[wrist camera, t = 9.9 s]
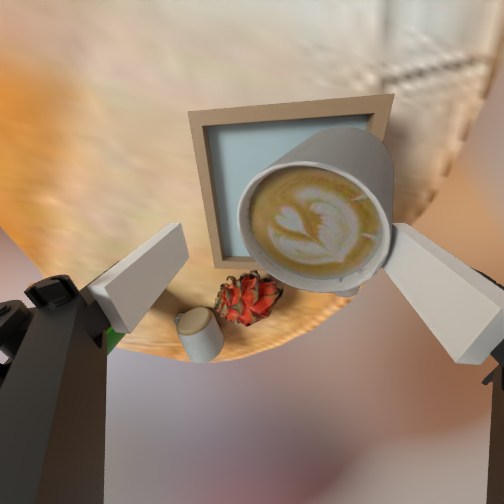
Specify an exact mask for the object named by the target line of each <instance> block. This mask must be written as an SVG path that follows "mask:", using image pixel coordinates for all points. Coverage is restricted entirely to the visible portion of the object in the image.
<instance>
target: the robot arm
mask: <svg viewBox="0 0 504 504" xmlns="http://www.w3.org/2000/svg"><path fill="white" fill-rule="evenodd" d="M188 259H189V253H188V249H187V245H186V241H185V238H184V234H183V230H182V226H181V223H169V224H168V225H167V226H166V227H164V228H163V229H162V230H160V231H159V232H158V233H156V234H155V235H154V236H152V237H151V238H150V239H148V240H147V241H146V242H145V243H143V244H142V245H141V246H139V247H138V248H137V249H135V250H134V251H133V252H131V253H130V254H129V255H127V256H126V257H125V258H124V259H122V260H121V261H119V262H117V263H116V264H114V265H113V266H112V267H110V268H109V269H108V270H106V271H105V272H104V273H103V274H101V275H100V276H98V277H97V278H96V279H94V280H93V281H92V282H90V283H89V284H88V285H87V286H85V287H84V288H83V289H81V290H80V291H79V290H78V289H77V287H76V286H75V284H74V283H73V281H72V280H71V278H70V277H69V276H68V275H57V276H52V277H49V278H46V279H43V280H41V281H39V282H37V283H35V284H33V285H32V286H30V287H29V288H27V289H26V290H25V292H24V293H25V294H26V295H27V297H28V298H29V299H30V300H31V301H32V302H33V304H34V305H35V306H36V307H34V308H27V307H26V306H25V305H24V303H23V302H22V301H20V300H11V301H7V302H2V303H0V350H1V351H2V352H3V353H4V354H5V355H6V356H8V357H9V359H8V360H7V361H6V362H5V363H4V364H1V363H0V504H103V501H104V460H105V459H104V458H105V419H106V377H107V375H106V374H107V333H106V331H105V328H106V327H107V326H108V325H109V324H111V326H112V327H113V329H114V330H115V332H119V333H130V334H131V332H132V331H133V330H134V328H135V327H136V326H137V324H138V323H139V322H140V321H141V319H142V318H143V317H144V315H145V314H146V313H147V312H148V310H149V309H150V308H151V306H152V305H153V304H154V302H155V301H156V300H157V299H158V297H159V296H160V295H161V293H162V292H163V291H164V290H165V288H166V287H167V286H168V284H169V283H170V282H171V280H172V279H173V278H174V277H175V275H176V274H177V273H178V271H179V270H180V269H181V268H182V266H183V265H184V264H185V262H186V261H187V260H188ZM382 268H383V269H384V270H385V272H386V273H387V274H388V276H389V277H390V278H391V280H392V281H393V282H394V283H395V285H396V286H397V287H398V289H399V290H400V291H401V292H402V294H403V295H404V296H405V298H406V299H407V300H408V302H409V303H410V304H411V305H412V307H413V308H414V309H415V311H416V312H417V313H418V315H419V316H420V317H421V318H422V319H423V321H424V322H425V324H426V325H427V326H428V327H429V329H430V330H431V331H432V333H433V334H434V335H435V336H436V338H437V339H438V340H439V342H440V343H441V344H442V346H443V347H444V348H445V349H446V351H447V352H448V353H449V355H450V356H451V357H452V359H454V361H455V362H456V363H463V364H474V365H481V364H482V363H483V362H484V360H485V359H486V358H487V357H488V356H489V355H490V354H491V355H492V356H493V357H494V359H495V360H496V361H497V362H498V363H499V365H498V366H497V367H496V368H495V369H494V370H493V371H492V372H491V373H490V374H489V375H488V376H487V377H486V378H484V380H483V381H482V383H483V384H484V385H487V384H488V383H489V382H493V394H492V413H491V430H490V447H489V467H488V484H487V503H486V504H504V287H503V286H502V285H500V284H497V283H496V281H494V280H493V279H491V278H490V277H488V276H487V275H485V274H484V273H482V272H480V271H477V270H475V269H473V268H471V267H469V266H467V265H466V264H464V263H463V262H462V261H460V260H459V259H457V258H456V257H454V256H453V255H452V254H450V253H449V252H447V251H446V250H444V249H443V248H441V247H440V246H438V245H437V244H435V243H434V242H433V241H431V240H430V239H428V238H427V237H425V236H424V235H422V234H421V233H420V232H418V231H417V230H415V229H414V228H412V227H411V226H409V225H408V224H407V223H392V238H391V245H390V249H389V253H388V256H387V258H386V260H385V262H384V264H383V265H382Z"/></svg>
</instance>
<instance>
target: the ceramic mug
mask: <svg viewBox="0 0 504 504" xmlns="http://www.w3.org/2000/svg"><path fill="white" fill-rule="evenodd" d="M174 321H175V324H176V326H177V332H178V336H179V338H180V340H181V342H182V344H183V346H184V348H185V351H186V353H187V355H188V357H189V359H190V360H191V361H192V362H194V363H197V364H203V363H206V362H209V361H211V360H212V359H214V358H215V357H216V356H217V355H218V354H219V353H220V352H221V350H222V348H223V345H224V337H223V334H222V332H221V330H220V327H219V325H218V323H217V321H216V318H215V316H214V314H213V313H212V312H211V310H209V309H208V308H205V307H198V308H194V309H191V310H189V311H188V312H186V313H185V314H184V313H180V314H178V315H177V316H176V317H175V319H174Z"/></svg>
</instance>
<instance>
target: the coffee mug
mask: <svg viewBox="0 0 504 504" xmlns="http://www.w3.org/2000/svg"><path fill="white" fill-rule="evenodd" d="M393 190H394V166H393V161H392V158H391V156H390V153H389V151H388V150H387V148H386V147H385V145H384V144H383V143H382V142H381V141H380V140H379V139H378V138H377V137H376V136H374V135H373V134H371V133H369V132H367V131H365V130H362V129H359V128H355V127H347V126H342V127H333V128H329V129H325V130H323V131H320V132H318V133H316V134H314V135H313V136H311V137H309V138H308V139H307V140H305V141H304V142H302V143H301V144H299V145H298V146H296V147H295V148H294V149H292V150H291V151H289V152H288V153H286V154H285V155H284V156H282V157H281V158H279V159H278V160H276V161H275V162H274V163H272V164H271V165H269V166H268V167H266V168H265V169H264V170H262V171H261V172H260V173H258V174H257V175H256V176H255V177H254V178H253V179H252V180H251V181H250V182H249V184H248V185H247V186H246V188H245V189H244V191H243V193H242V195H241V198H240V200H239V204H238V209H237V223H238V229H239V233H240V236H241V239H242V241H243V244H244V245H245V247H246V249H247V251H248V252H249V254H250V255H251V256H252V258H253V259H254V260H255V261H256V262H257V264H258V265H259V266H260V267H262V268H263V269H264V270H265V271H266V272H267V273H269V274H270V275H272V276H273V277H275V278H276V279H278V280H279V281H281V282H283V283H285V284H288V285H290V286H292V287H294V288H298V289H301V290H306V291H310V292H318V293H334V294H335V295H337V296H341V297H352V296H354V295H356V294H357V292H358V291H359V288H360V285H361V284H363V283H365V282H366V281H367V280H369V279H370V278H372V277H373V276H374V275H375V274H376V273H377V272H378V271H379V269H380V268H381V267H382V265H383V264H384V262H385V260H386V258H387V256H388V253H389V249H390V245H391V238H392V216H393Z"/></svg>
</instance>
